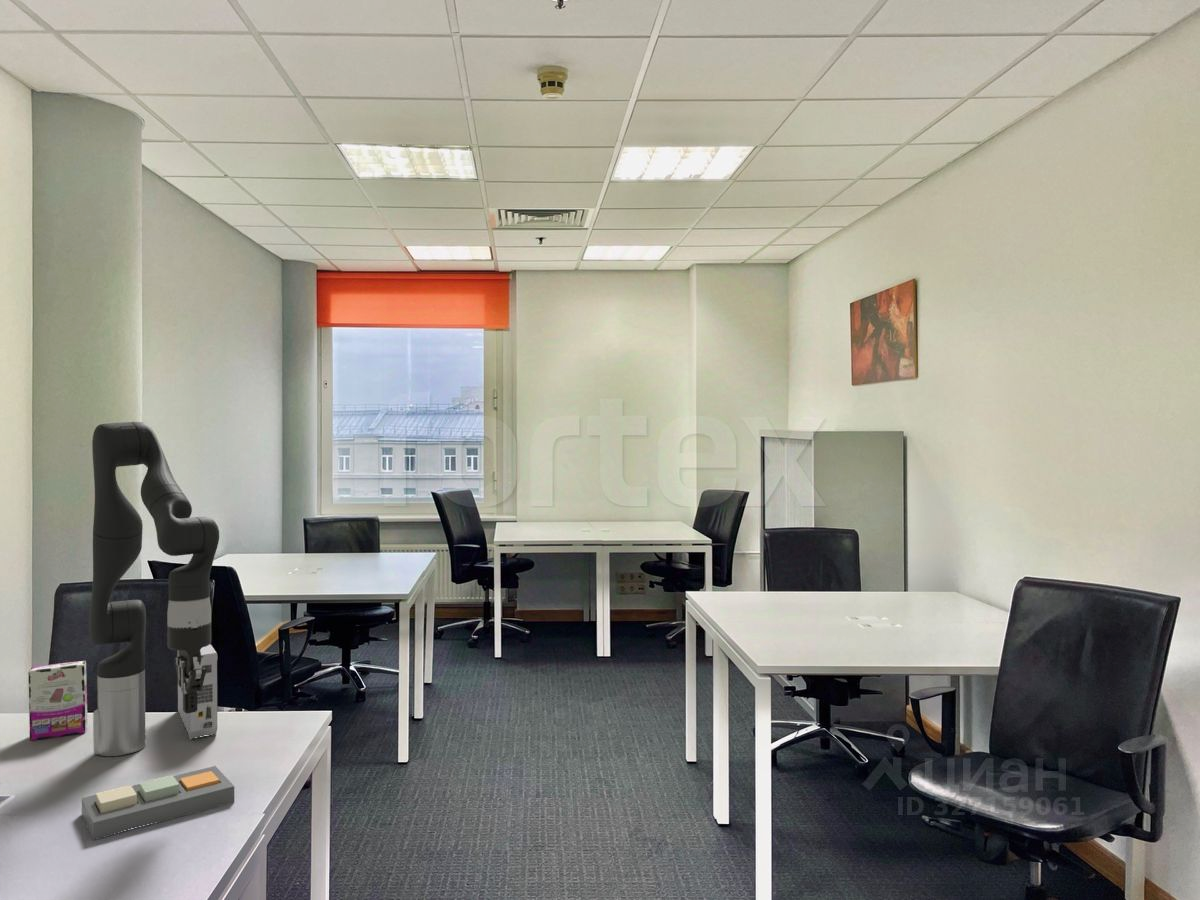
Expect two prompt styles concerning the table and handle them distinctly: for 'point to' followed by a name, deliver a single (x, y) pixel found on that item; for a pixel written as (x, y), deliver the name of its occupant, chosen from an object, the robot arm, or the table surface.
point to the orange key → (199, 781)
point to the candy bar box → (57, 700)
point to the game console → (203, 699)
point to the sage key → (158, 788)
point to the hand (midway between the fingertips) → (190, 711)
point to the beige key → (116, 798)
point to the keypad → (157, 806)
